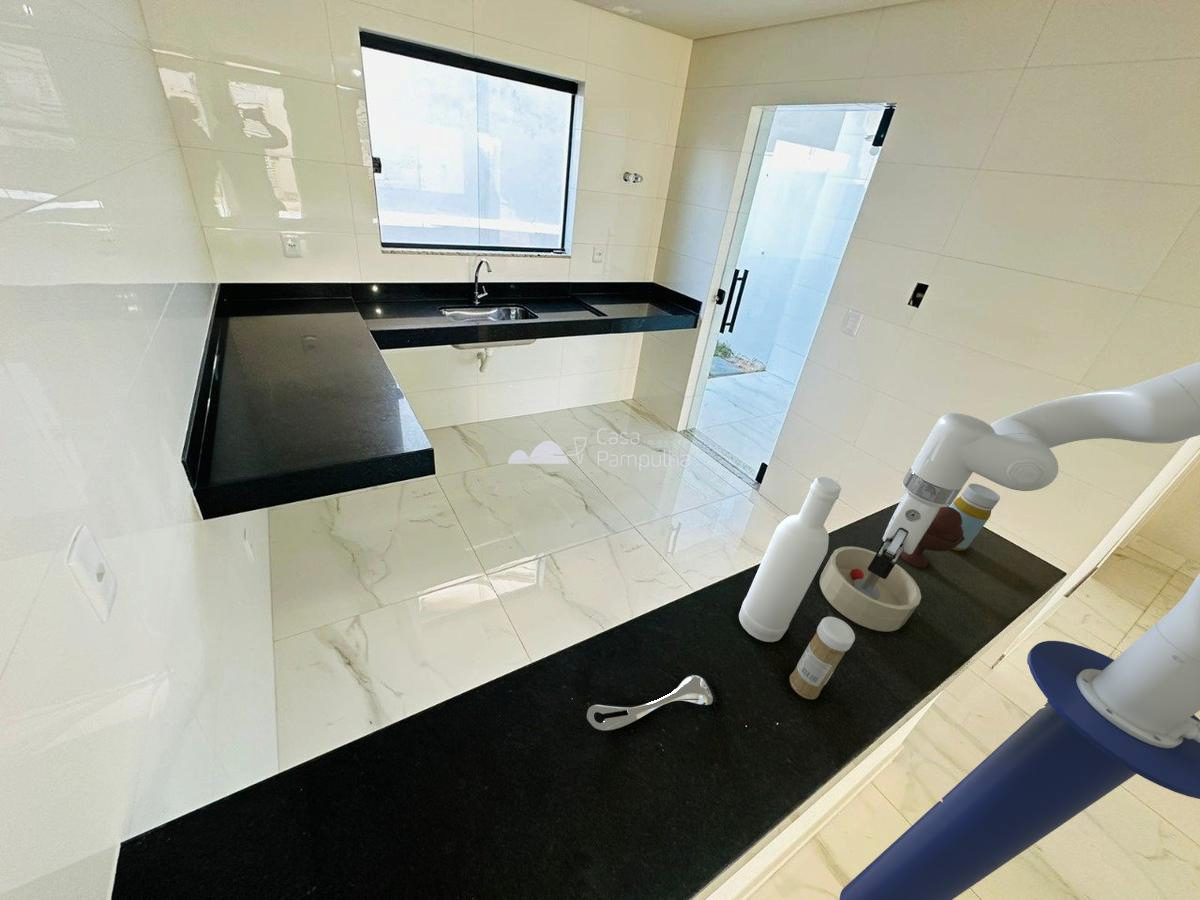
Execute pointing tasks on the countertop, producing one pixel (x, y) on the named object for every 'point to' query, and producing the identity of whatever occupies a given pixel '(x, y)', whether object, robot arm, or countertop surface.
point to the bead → (856, 574)
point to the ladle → (868, 585)
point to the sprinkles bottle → (821, 657)
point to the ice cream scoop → (654, 703)
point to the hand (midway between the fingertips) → (881, 564)
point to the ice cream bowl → (938, 536)
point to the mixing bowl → (875, 614)
